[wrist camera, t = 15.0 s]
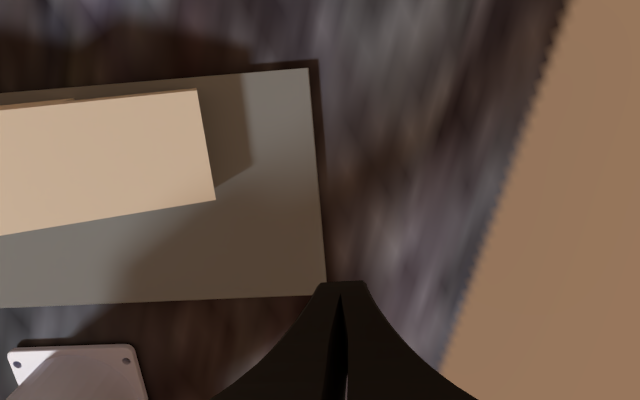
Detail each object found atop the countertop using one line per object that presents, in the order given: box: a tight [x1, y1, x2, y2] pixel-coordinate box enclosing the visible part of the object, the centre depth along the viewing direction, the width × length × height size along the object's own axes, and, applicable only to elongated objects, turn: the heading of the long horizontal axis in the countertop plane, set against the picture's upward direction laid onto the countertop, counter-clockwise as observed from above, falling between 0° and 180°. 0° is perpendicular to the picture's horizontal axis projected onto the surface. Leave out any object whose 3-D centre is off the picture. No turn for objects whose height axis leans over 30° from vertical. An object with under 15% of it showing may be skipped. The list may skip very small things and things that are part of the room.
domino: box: [0, 88, 216, 236], centre depth 19 cm, size 2×5×9 cm
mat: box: [0, 68, 327, 308], centre depth 23 cm, size 12×33×1 cm, turn 95°
